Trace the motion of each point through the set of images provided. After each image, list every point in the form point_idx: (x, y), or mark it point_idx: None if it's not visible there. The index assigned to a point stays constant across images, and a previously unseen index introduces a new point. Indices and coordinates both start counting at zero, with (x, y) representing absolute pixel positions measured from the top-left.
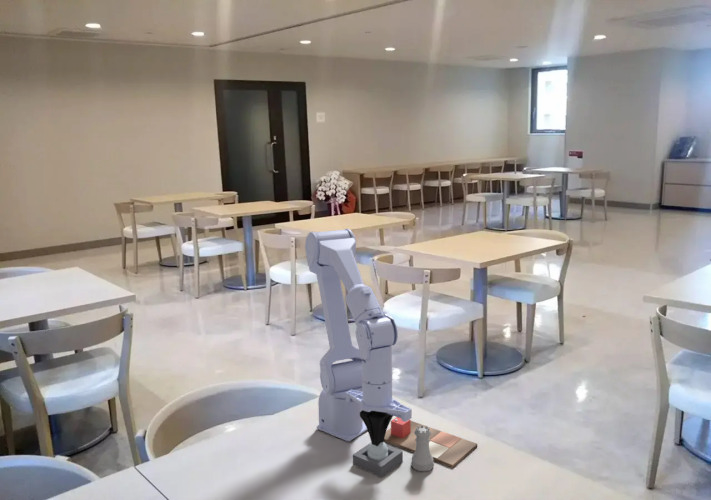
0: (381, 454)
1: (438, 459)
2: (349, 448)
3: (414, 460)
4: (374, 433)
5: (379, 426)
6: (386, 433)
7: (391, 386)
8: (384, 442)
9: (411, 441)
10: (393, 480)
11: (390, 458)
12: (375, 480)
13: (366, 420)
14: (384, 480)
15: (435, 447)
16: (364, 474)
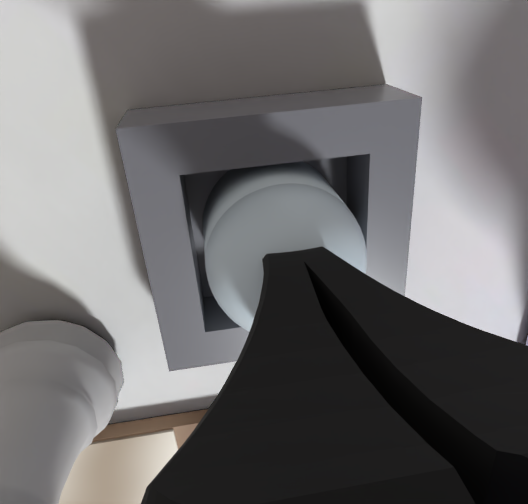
0: (214, 234)
1: None
2: (510, 211)
3: (45, 356)
4: (302, 311)
5: (203, 419)
6: None
7: None
8: None
9: None
10: (43, 142)
11: (158, 261)
12: (129, 48)
13: (497, 385)
14: (85, 96)
15: (123, 499)
16: (245, 51)
